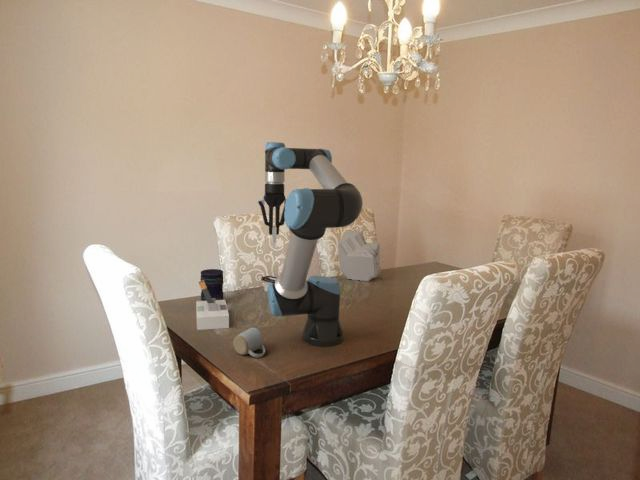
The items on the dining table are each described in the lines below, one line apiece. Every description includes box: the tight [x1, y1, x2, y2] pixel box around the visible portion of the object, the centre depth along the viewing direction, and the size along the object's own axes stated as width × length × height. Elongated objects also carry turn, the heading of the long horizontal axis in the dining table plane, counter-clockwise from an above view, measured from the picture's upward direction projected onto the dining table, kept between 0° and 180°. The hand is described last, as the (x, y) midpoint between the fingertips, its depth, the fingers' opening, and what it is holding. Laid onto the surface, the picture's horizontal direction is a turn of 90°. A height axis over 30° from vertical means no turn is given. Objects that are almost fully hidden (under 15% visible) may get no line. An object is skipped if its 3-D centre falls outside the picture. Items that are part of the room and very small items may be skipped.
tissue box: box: [337, 230, 382, 282], centre depth 256 cm, size 20×16×25 cm
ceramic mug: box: [232, 327, 266, 359], centre depth 158 cm, size 11×8×8 cm
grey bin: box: [260, 275, 278, 292], centre depth 228 cm, size 20×25×10 cm
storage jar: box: [200, 268, 224, 301], centre depth 206 cm, size 10×10×15 cm
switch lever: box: [198, 280, 213, 303], centre depth 186 cm, size 4×2×12 cm, turn 15°
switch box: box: [195, 298, 230, 331], centre depth 188 cm, size 20×12×8 cm, turn 15°
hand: (273, 242), depth 184 cm, fingers closed
